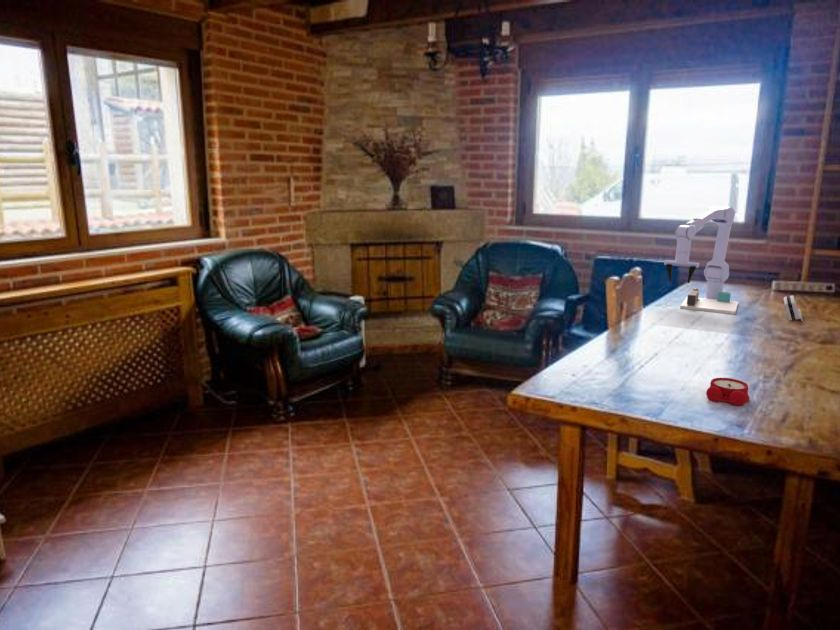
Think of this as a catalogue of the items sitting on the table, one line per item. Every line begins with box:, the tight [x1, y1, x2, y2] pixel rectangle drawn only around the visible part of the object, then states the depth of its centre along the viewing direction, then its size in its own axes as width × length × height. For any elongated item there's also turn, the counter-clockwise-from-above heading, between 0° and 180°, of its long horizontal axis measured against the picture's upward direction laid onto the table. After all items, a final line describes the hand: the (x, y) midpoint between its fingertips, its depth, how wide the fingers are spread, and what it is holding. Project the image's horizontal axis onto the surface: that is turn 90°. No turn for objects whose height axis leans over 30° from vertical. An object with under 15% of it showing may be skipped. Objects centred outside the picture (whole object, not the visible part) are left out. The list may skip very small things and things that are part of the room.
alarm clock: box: [706, 377, 750, 407], centre depth 163 cm, size 10×6×15 cm
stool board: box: [679, 291, 739, 315], centre depth 274 cm, size 23×22×5 cm
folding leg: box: [687, 287, 700, 305], centre depth 275 cm, size 16×3×5 cm, turn 150°
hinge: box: [783, 295, 804, 322], centre depth 255 cm, size 17×5×10 cm, turn 150°
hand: (679, 281), depth 274 cm, fingers open, 7 cm apart
